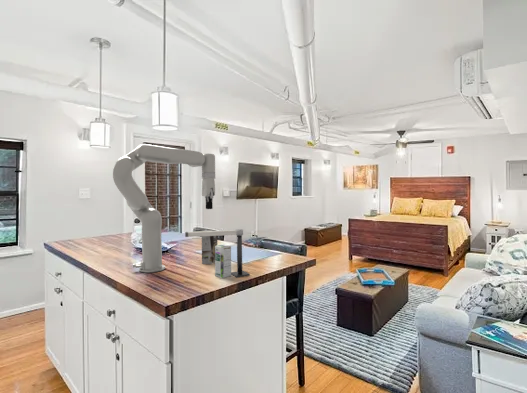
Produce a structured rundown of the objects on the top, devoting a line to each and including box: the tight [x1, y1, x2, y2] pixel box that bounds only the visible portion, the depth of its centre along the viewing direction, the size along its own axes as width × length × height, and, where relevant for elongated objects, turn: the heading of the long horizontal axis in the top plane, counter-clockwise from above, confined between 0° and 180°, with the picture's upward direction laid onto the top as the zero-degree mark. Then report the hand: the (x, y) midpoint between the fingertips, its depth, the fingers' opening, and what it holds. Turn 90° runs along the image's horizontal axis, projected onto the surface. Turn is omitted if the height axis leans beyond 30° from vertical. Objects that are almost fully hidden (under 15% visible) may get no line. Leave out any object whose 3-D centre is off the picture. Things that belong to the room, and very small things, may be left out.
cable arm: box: [184, 229, 244, 238], centre depth 149 cm, size 27×4×2 cm, turn 100°
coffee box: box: [201, 236, 218, 265], centre depth 178 cm, size 9×6×16 cm
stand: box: [231, 235, 250, 278], centre depth 151 cm, size 7×7×19 cm
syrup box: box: [214, 244, 232, 279], centre depth 150 cm, size 6×6×14 cm
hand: (209, 208), depth 177 cm, fingers closed
